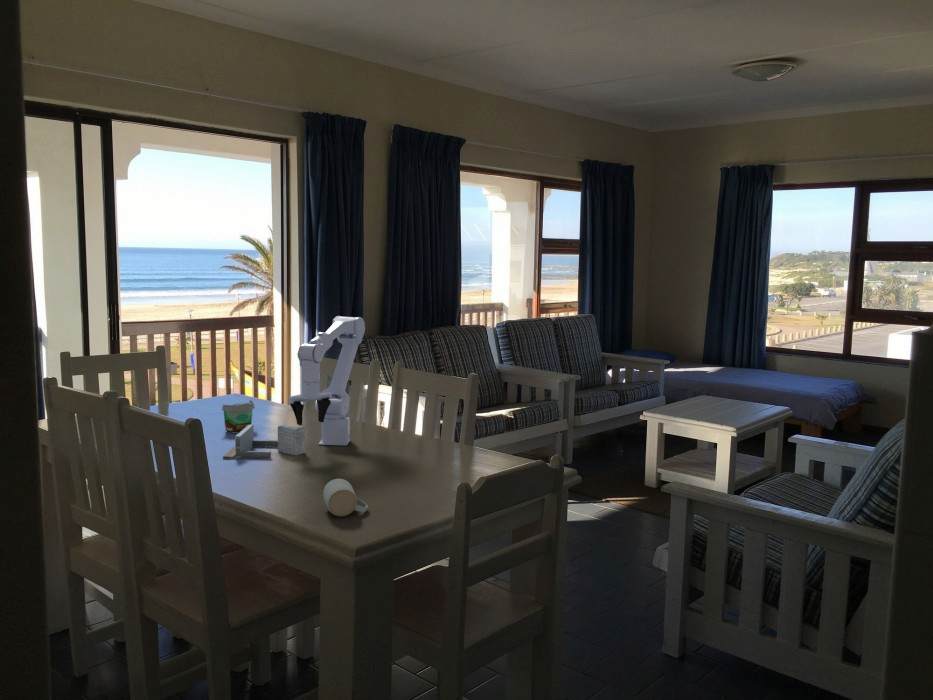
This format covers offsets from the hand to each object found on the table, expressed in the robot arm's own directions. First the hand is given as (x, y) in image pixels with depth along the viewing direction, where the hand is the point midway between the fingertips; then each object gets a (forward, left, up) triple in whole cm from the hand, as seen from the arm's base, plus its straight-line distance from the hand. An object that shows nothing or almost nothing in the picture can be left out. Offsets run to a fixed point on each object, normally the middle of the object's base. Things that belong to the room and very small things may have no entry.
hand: (310, 423), depth 240 cm
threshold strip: (+23, +1, -10) cm, 25 cm away
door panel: (+20, +1, -10) cm, 23 cm away
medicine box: (+6, +1, -10) cm, 11 cm away
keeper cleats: (+16, +1, -10) cm, 18 cm away
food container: (+29, -27, -10) cm, 41 cm away
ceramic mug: (-19, +56, -10) cm, 60 cm away
